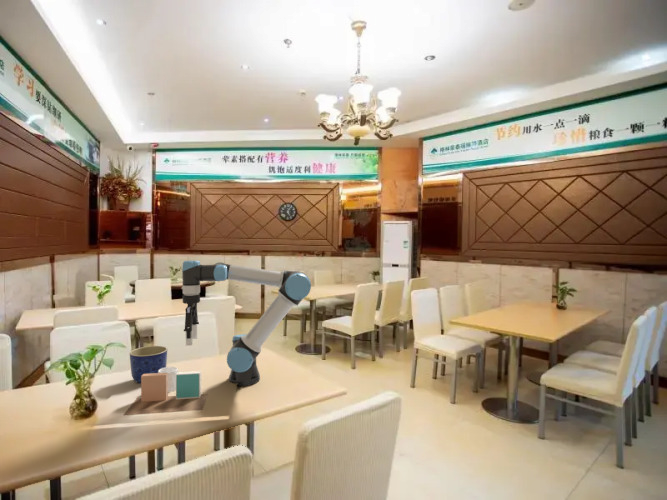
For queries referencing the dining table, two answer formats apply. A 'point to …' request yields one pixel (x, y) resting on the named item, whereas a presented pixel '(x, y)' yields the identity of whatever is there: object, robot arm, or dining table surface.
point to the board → (166, 405)
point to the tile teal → (188, 385)
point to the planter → (147, 361)
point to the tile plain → (154, 387)
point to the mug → (170, 377)
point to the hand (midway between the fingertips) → (191, 341)
